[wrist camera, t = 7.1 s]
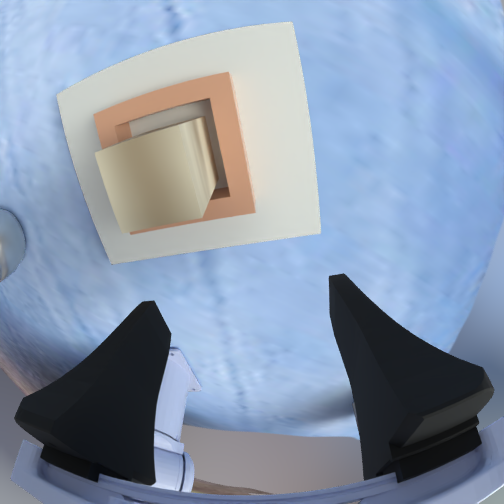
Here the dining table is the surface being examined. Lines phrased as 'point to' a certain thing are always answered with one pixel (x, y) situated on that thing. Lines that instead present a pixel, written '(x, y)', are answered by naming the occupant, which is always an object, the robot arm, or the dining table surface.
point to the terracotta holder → (227, 126)
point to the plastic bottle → (10, 244)
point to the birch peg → (160, 175)
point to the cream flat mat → (254, 130)
